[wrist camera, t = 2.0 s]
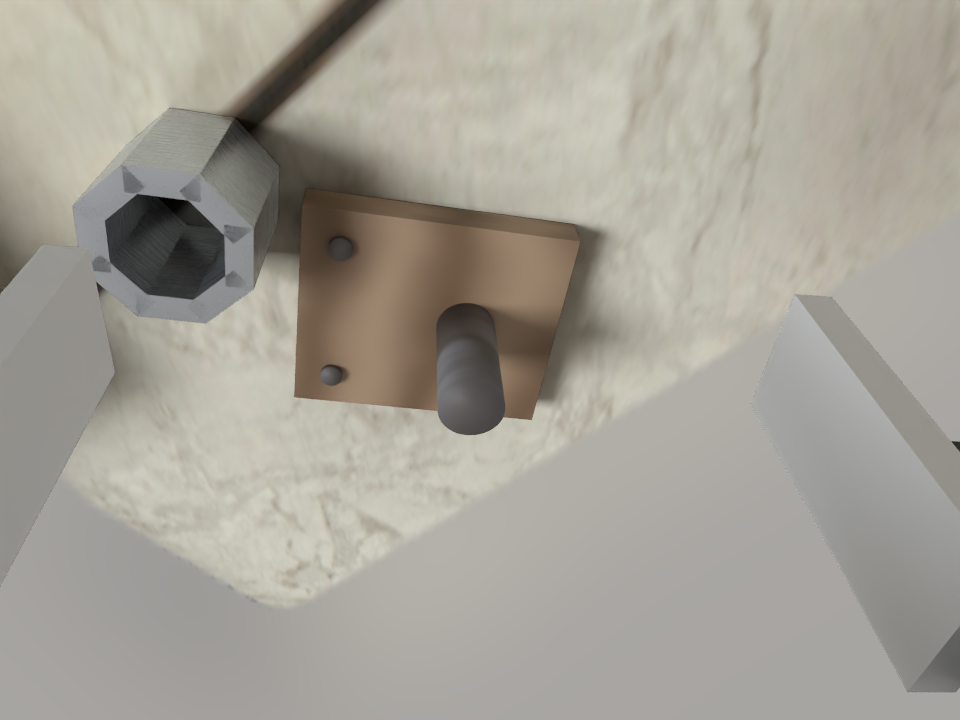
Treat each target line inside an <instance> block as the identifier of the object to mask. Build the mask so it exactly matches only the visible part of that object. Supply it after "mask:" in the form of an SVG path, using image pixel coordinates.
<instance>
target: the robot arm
mask: <svg viewBox="0 0 960 720" xmlns="http://www.w3.org/2000/svg"><path fill="white" fill-rule="evenodd" d="M114 374H115V370H114V365H113V360H112V355H111V351H110V346H109V341H108V337H107V332H106V327H105V323H104V318H103V313H102V308H101V304H100V299H99V294H98V290H97V285H96V280H95V276H94V271H93V266H92V261H91V257H90V252H89V248H85V247H70V246H55V245H42V246H41V247H40V248H39V249H38V251H37V252H36V253H35V254H34V255H33V256H32V258H31V259H30V260H29V261H28V262H27V263H26V265H25V266H24V267H23V268H22V269H21V270H20V272H19V273H18V274H17V275H16V276H15V277H14V279H13V280H12V281H11V282H10V283H9V284H8V286H7V287H6V288H5V289H4V290H3V291H2V293H1V294H0V585H1V584H2V582H3V580H4V578H5V577H6V575H7V573H8V571H9V569H10V567H11V565H12V563H13V562H14V560H15V558H16V556H17V554H18V552H19V550H20V549H21V547H22V545H23V543H24V541H25V539H26V537H27V536H28V534H29V532H30V530H31V528H32V526H33V524H34V523H35V520H36V519H37V517H38V515H39V513H40V511H41V510H42V508H43V506H44V504H45V502H46V500H47V498H48V497H49V495H50V493H51V491H52V489H53V487H54V485H55V484H56V482H57V480H58V478H59V476H60V474H61V472H62V471H63V469H64V467H65V465H66V463H67V461H68V459H69V458H70V456H71V454H72V452H73V450H74V448H75V446H76V444H77V443H78V441H79V439H80V437H81V435H82V433H83V431H84V430H85V428H86V426H87V424H88V422H89V420H90V418H91V417H92V415H93V413H94V411H95V409H96V407H97V405H98V404H99V402H100V400H101V398H102V396H103V394H104V392H105V391H106V389H107V387H108V385H109V383H110V381H111V379H112V378H113V376H114ZM750 404H751V406H752V408H753V409H754V411H755V413H756V415H757V417H758V418H759V420H760V422H761V424H762V426H763V428H764V430H765V431H766V433H767V435H768V437H769V439H770V441H771V442H772V444H773V446H774V448H775V450H776V452H777V454H778V455H779V457H780V459H781V461H782V463H783V465H784V466H785V468H786V470H787V472H788V474H789V476H790V477H791V479H792V481H793V483H794V485H795V487H796V488H797V490H798V492H799V494H800V496H801V498H802V499H803V501H804V503H805V505H806V507H807V509H808V510H809V512H810V514H811V516H812V518H813V520H814V522H815V523H816V525H817V527H818V529H819V531H820V533H821V534H822V536H823V538H824V540H825V541H826V543H827V545H828V547H829V549H830V551H831V553H832V554H833V556H834V558H835V560H836V562H837V564H838V565H839V567H840V569H841V571H842V573H843V575H844V577H845V578H846V580H847V582H848V584H849V586H850V588H851V589H852V591H853V593H854V595H855V597H856V599H857V601H858V602H859V604H860V606H861V608H862V610H863V612H864V613H865V615H866V617H867V619H868V621H869V623H870V624H871V626H872V628H873V630H874V632H875V634H876V635H877V637H878V639H879V641H880V643H881V644H882V647H883V648H884V650H885V652H886V654H887V655H888V658H889V659H890V661H891V663H892V665H893V667H894V669H895V670H896V672H897V674H898V676H899V678H900V680H901V681H902V683H903V685H904V687H905V689H906V691H907V692H956V691H957V690H958V689H959V688H960V442H953V441H950V440H949V438H948V437H947V436H946V435H945V433H944V432H943V431H942V430H941V429H940V427H939V426H938V425H937V424H936V423H935V421H934V420H933V419H932V418H931V416H930V415H929V414H928V413H927V412H926V410H925V409H924V408H923V407H922V406H921V404H920V403H919V402H918V401H917V400H916V398H915V397H914V396H913V395H912V394H911V392H910V391H909V390H908V389H907V387H906V386H905V385H904V384H903V383H902V381H901V380H900V379H899V378H898V377H897V375H896V374H895V373H894V372H893V370H892V369H891V368H890V367H889V366H888V364H887V363H886V362H885V361H884V360H883V358H882V357H881V356H880V355H879V353H878V352H877V351H876V350H875V349H874V348H873V346H872V345H871V344H870V343H869V341H868V340H867V339H866V338H865V337H864V335H863V334H862V333H861V332H860V330H859V329H858V328H857V327H856V326H855V324H854V323H853V322H852V321H851V320H850V318H849V317H848V316H847V315H846V314H845V312H844V311H843V310H842V309H841V307H840V306H839V305H838V304H837V303H836V301H835V300H834V299H833V298H832V297H828V296H812V295H797V294H795V295H794V298H793V300H792V302H791V305H790V307H789V310H788V312H787V315H786V317H785V320H784V322H783V324H782V327H781V329H780V332H779V334H778V337H777V339H776V342H775V344H774V347H773V349H772V352H771V354H770V356H769V359H768V361H767V364H766V366H765V369H764V371H763V373H762V376H761V378H760V381H759V384H758V386H757V388H756V391H755V393H754V396H753V398H752V400H751V403H750Z"/></svg>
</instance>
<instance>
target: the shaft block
mask: <svg viewBox="0 0 960 720" xmlns="http://www.w3.org/2000/svg"><path fill="white" fill-rule="evenodd" d="M579 245H580V239H579V236H578V233H577V230H576V228H575V225H574V224H568V223H560V222H553V221H546V220H538V219H531V218H523V217H516V216H508V215H501V214H494V213H486V212H479V211H471V210H464V209H457V208H449V207H442V206H434V205H427V204H420V203H412V202H405V201H397V200H390V199H382V198H375V197H368V196H360V195H353V194H345V193H338V192H331V191H323V190H316V189H308V188H307V191H306V194H305V197H304V200H303V203H302V218H301V243H300V268H299V293H298V319H297V344H296V369H295V394H294V397H298V398H309V399H319V400H330V401H340V402H350V403H361V404H371V405H382V406H392V407H403V408H413V409H424V410H434V411H438V415H439V418H440V420H441V422H442V423H443V424H444V425H445V426H446V427H447V428H448V429H450V430H452V431H454V432H456V433H459V434H464V435H477V434H481V433H485V432H487V431H489V430H491V429H493V428H494V427H496V426H497V425H498V424H499V423H500V421H501V420H502V418H503V417H507V418H518V419H528V420H532V417H533V413H534V410H535V406H536V402H537V399H538V395H539V391H540V388H541V384H542V380H543V377H544V373H545V369H546V366H547V362H548V358H549V355H550V351H551V347H552V344H553V340H554V337H555V333H556V329H557V326H558V322H559V318H560V315H561V311H562V307H563V304H564V300H565V296H566V293H567V289H568V285H569V282H570V278H571V274H572V271H573V267H574V263H575V260H576V256H577V253H578V249H579Z"/></svg>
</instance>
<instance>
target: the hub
mask: <svg viewBox="0 0 960 720" xmlns="http://www.w3.org/2000/svg"><path fill="white" fill-rule="evenodd" d="M157 196H158V197H166V198H173V199H181V200H188V201H189V202H190V203H191V204H192V205H193V206H195V207H196V208H197V209H198V210H199V211H200V212H201V213H202V214H203V215H204V216H205V217H206V218H207V219H208V220H209V221H210V222H211V223H212V224H213V225H214V226H215V227H216V228H209V227H201V226H193V225H187V224H186V223H185V222H183V221H182V220H181V219H180V218H179V217H178V216H177V215H176V214H175V213H174V212H173V211H172V210H171V209H170V208H169V207H168V206H167V205H166V204H165V203H164V202H162V201H161V200H160V199H159V198H158V197H157ZM278 206H279V165H278V164H277V163H276V162H275V161H274V160H273V158H272V157H271V156H270V155H269V154H268V153H267V152H266V151H265V150H264V149H263V148H262V146H261V145H260V144H259V143H258V142H257V141H256V140H255V139H254V138H253V137H252V136H251V134H250V133H249V132H248V131H247V130H246V129H245V128H244V127H243V126H242V125H241V124H240V123H239V121H238V120H237V119H236V118H235V117H228V116H221V115H214V114H207V113H200V112H193V111H187V110H180V109H173V108H169V109H168V110H167V111H166V112H164V113H163V114H162V115H161V116H160V117H159V118H157V119H156V120H155V121H154V122H153V123H152V124H150V125H149V126H148V127H147V128H146V129H145V130H143V131H142V132H141V133H140V134H139V135H138V136H136V137H135V138H134V139H133V140H132V141H131V142H129V143H128V144H127V145H126V146H125V147H124V148H123V149H122V151H121V152H120V153H119V154H118V155H117V156H116V157H115V158H114V159H113V161H112V162H111V163H110V164H109V165H108V166H107V167H106V168H105V170H104V171H103V172H102V173H101V174H100V175H99V176H98V177H97V179H96V180H95V181H94V182H93V183H92V184H91V185H90V186H89V188H88V189H87V190H86V191H85V192H84V193H83V194H82V195H81V197H80V198H79V199H78V200H77V201H76V202H75V203H74V204H73V213H74V220H75V227H76V234H77V241H78V247H85V248H89V252H90V257H91V261H92V266H93V271H94V276H95V280H96V282H97V283H98V284H100V285H101V286H102V287H103V288H104V289H106V290H107V291H108V292H109V293H110V294H112V295H113V296H114V297H115V298H116V299H118V300H119V301H120V302H121V303H122V304H124V305H125V306H126V307H127V308H128V309H130V310H131V311H132V312H133V313H134V314H135V315H137V316H141V317H151V318H160V319H169V320H178V321H188V322H197V323H207V322H209V321H210V320H211V319H213V318H214V317H216V316H217V315H218V314H220V313H221V312H223V311H224V310H225V309H227V308H228V307H230V306H231V305H232V304H234V303H235V302H236V301H238V300H239V299H241V298H242V297H243V296H245V295H246V294H248V293H249V292H250V291H252V290H253V289H254V287H255V284H256V281H257V278H258V276H259V273H260V270H261V267H262V264H263V262H264V259H265V256H266V253H267V251H268V248H269V245H270V242H271V239H272V237H273V234H274V231H275V228H276V225H277V223H278Z"/></svg>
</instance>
